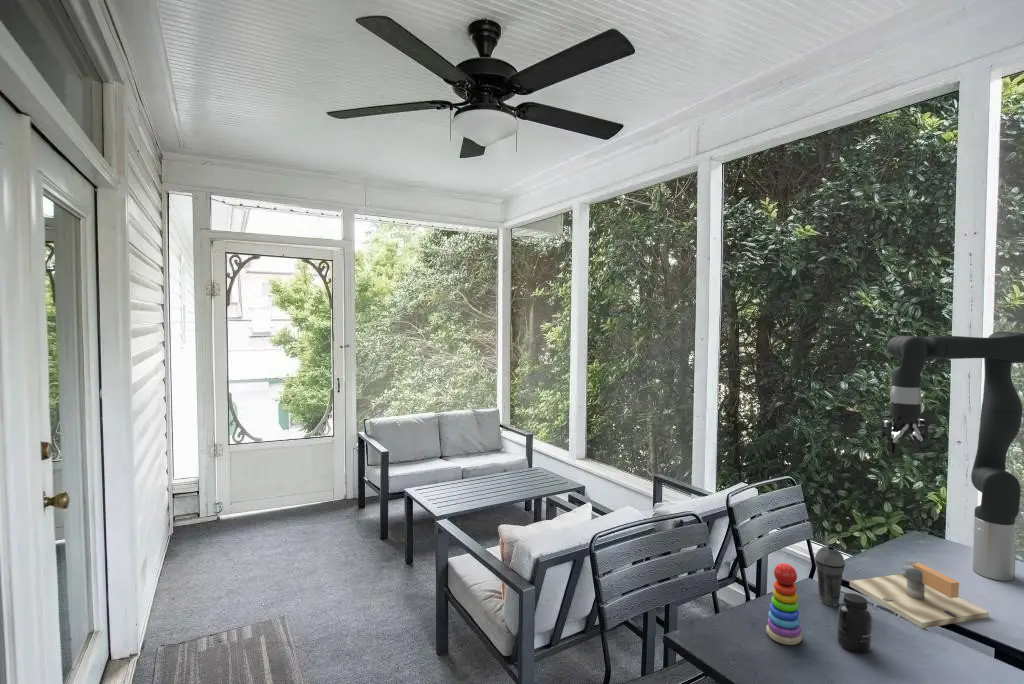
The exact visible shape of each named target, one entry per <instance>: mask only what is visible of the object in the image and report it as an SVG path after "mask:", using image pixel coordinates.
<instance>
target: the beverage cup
mask: <svg viewBox="0 0 1024 684" xmlns="http://www.w3.org/2000/svg"><path fill="white" fill-rule="evenodd" d="M824 533H825V534H824V535H825V544H826V546H823V547H821V548H819V549H818V550H817V551H816V554H815V558H814V560H815V568H816V572H817V585H818V595H819V601H820V600H821V601H822V602H823V603H825V604H828V605H833V606H832V607H837V606H836V605H839V602H840V598H841V589H842V582H843V581H842V580H843V573H844V570H845V566H846V564H845V559H844V556H843V555H842V553H841V552H840V551H839V550H838V549H836V548H835V547H832V546H829V537H828V531H825V532H824ZM821 601H820V602H821ZM822 602H821V603H822ZM823 603H822V604H823ZM825 604H824V605H825ZM828 605H827V606H828ZM834 605H835V606H834Z"/></svg>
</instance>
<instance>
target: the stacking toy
mask: <svg viewBox="0 0 1024 684" xmlns="http://www.w3.org/2000/svg"><path fill="white" fill-rule="evenodd" d="M773 575H774V577H775V579H776V580H775V581H774V582H773V588H774V589H772V597H771V599H770V601H771V602H770V604H769V611H768V619H767V625H766V626H765V628H766V629H765V631H766V634H767V635H768V637H770V639H772V640H773V641H775V642H777V643H779V644H783V645H787V646H795V645H798V644H799V643H801V641H802V640H803V639H802V638H803V636H802V626H801V624H800V623H801V622H800V620H801V619H800V618H799V616H800V612H799V603H798V600H799V597H798V594H797V586H796V585H795V583H796V581H797V578H798V574H797V571H796V569H795V568H794V567H793V566H792V565H791V564H788V563H784V562H783V563H778V564H777V565H776V566H775V567H774V569H773Z"/></svg>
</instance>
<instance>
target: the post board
mask: <svg viewBox="0 0 1024 684" xmlns="http://www.w3.org/2000/svg"><path fill="white" fill-rule="evenodd" d="M849 587H850V588H852V589H854V590H855V591H857V592H859V593H861V594H863V595H864V596H866V597H868V599H871V600H872V601H875V602H876V603H878V604H879V605H881V606H883V607H885V608H886V609H888V610H890V611H891V612H893V613H895V614H897V615H898V616H900V617H901V618H903V619H905V620H906V621H908V622H910V623H912V624H914V625H915V626H917V627H919V628H920V629H927V628H933V627H940V626H946V625H950V624H957V623H964V622H969V621H976V620H982V619H987V618H988V619H989V617H990V611H988V610H986V609H984V608H982V607H980V606H978V605H976V604H974V603H972V602H970V601H967V600H966V599H963V598H961V597H959V596H958V597H957V598H949V597H947V596H946V595H944V594H942V593H940V592H938V591H936V590H934V589H932V588H931V587H929V586H927V585H925V584H923V583H919V582H915V581H911V580H909V579H907V578H905V577H903V576H902V573H900V574H892V575H885V576H877V577H869V578H864V579H855V580H849Z"/></svg>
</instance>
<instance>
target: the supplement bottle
mask: <svg viewBox="0 0 1024 684" xmlns="http://www.w3.org/2000/svg"><path fill="white" fill-rule="evenodd" d="M842 602H843V603H842V604H839V607H838V612H837V613H838V614H837V615H838V616H837V642H838V644H839V645H840V646H841V647H842V648H843V649H845V650H847V651H849V652H852V653H855V654H861V655H864V654H868V653H869V652H870V651H871V649H872V627H873V626H872V625H873V624H872V623H873V619H872V614H871V612H870V611H869V610H868V600H867V599H866V598H865V597H864V596H862V595H860V594H857V593H853V592H847V593H844V595H843V599H842Z"/></svg>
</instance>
